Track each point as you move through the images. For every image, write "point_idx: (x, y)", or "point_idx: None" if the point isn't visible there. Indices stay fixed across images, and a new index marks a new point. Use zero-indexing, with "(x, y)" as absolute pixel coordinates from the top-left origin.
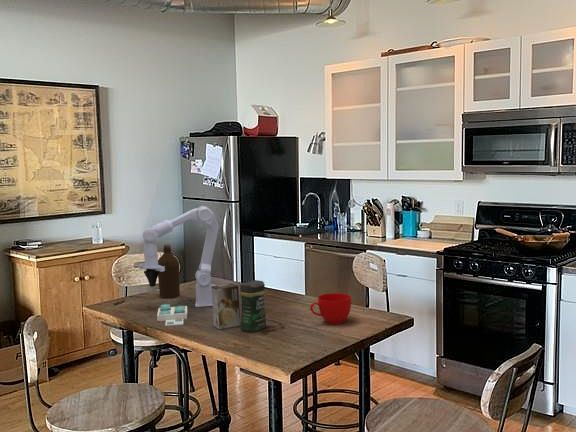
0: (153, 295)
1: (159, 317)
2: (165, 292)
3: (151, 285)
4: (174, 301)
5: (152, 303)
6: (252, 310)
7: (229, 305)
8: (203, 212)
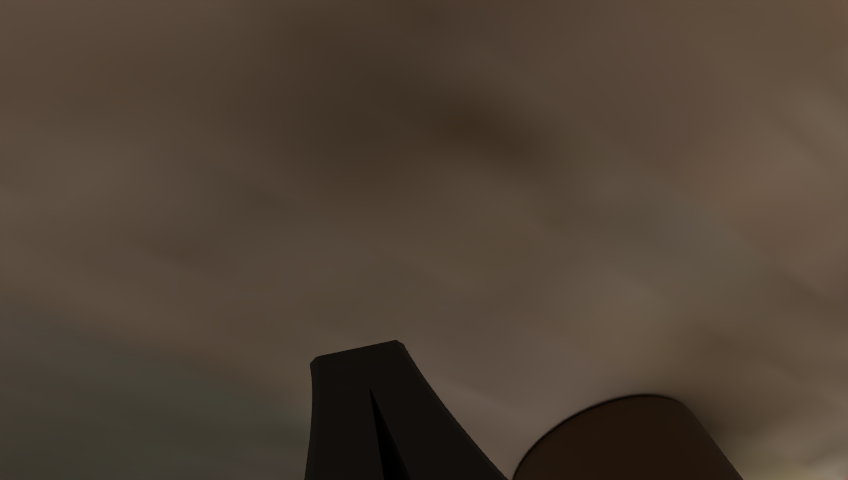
0: (781, 385)
1: None
2: (607, 470)
3: (323, 378)
4: None
5: (573, 246)
6: None
7: None
8: None
